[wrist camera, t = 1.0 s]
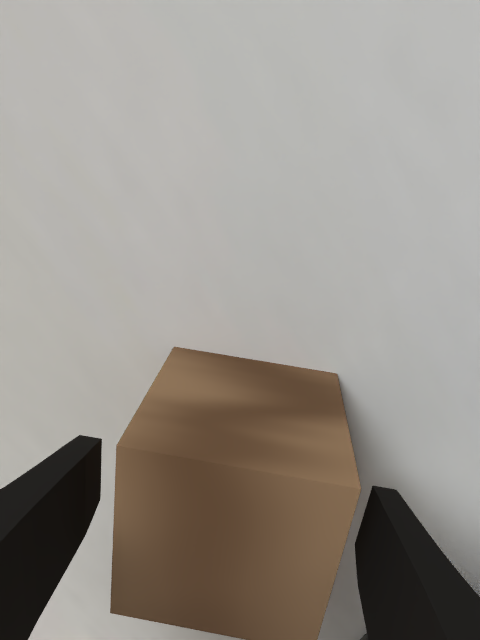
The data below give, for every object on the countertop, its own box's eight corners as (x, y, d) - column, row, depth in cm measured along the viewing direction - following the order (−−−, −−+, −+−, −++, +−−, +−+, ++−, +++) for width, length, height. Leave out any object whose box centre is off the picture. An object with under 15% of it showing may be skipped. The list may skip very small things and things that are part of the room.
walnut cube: (336, 372, 14) (361, 488, 9) (306, 500, 15) (313, 653, 11) (174, 345, 14) (116, 445, 9) (163, 475, 16) (110, 612, 11)
